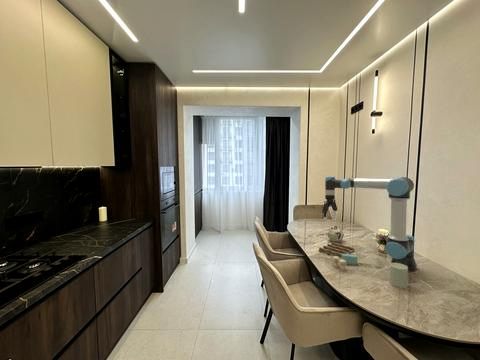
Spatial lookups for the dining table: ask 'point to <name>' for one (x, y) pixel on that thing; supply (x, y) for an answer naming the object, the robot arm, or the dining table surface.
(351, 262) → the teal bar
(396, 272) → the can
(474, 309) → the dining table surface
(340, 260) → the maple bar
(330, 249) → the slot rack
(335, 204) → the robot arm
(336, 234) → the sugar bowl
